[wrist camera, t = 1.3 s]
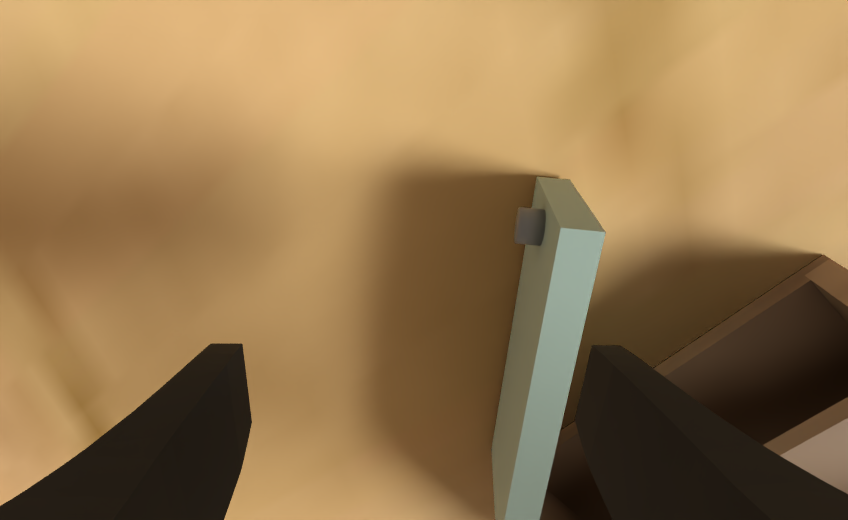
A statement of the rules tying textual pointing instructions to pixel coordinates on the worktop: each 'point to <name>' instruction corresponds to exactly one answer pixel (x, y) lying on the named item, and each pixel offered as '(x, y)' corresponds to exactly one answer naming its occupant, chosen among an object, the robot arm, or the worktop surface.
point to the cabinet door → (542, 342)
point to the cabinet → (752, 386)
